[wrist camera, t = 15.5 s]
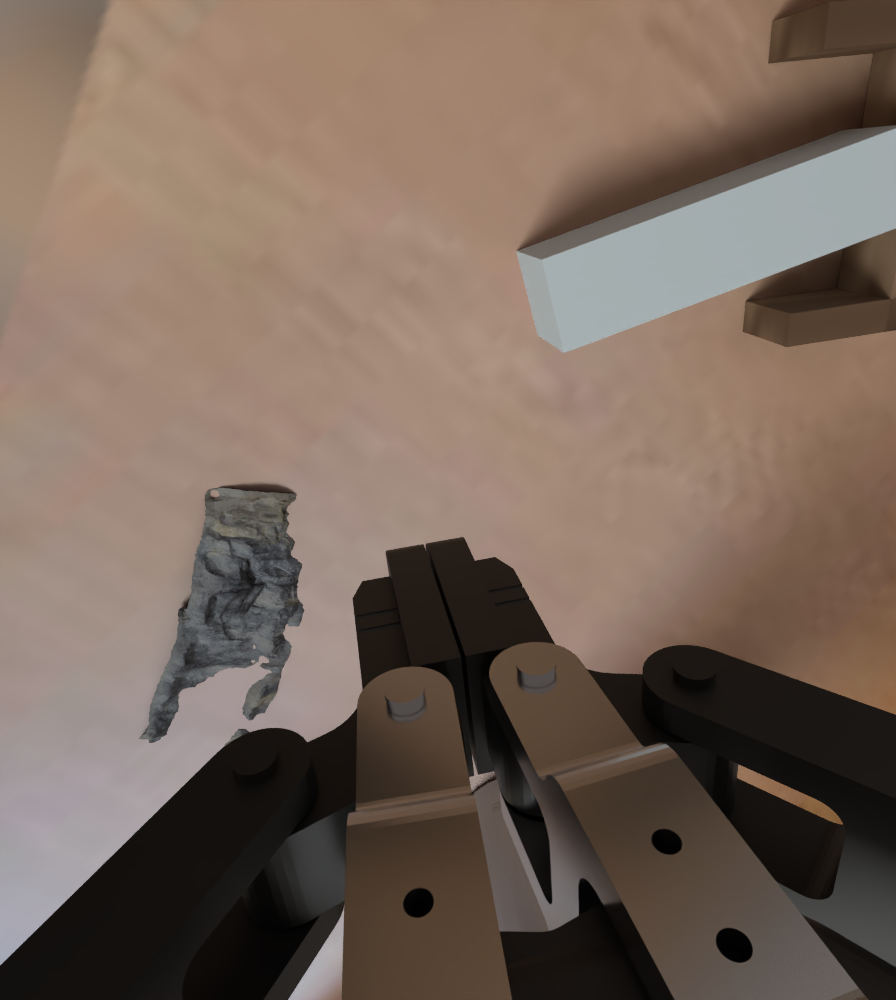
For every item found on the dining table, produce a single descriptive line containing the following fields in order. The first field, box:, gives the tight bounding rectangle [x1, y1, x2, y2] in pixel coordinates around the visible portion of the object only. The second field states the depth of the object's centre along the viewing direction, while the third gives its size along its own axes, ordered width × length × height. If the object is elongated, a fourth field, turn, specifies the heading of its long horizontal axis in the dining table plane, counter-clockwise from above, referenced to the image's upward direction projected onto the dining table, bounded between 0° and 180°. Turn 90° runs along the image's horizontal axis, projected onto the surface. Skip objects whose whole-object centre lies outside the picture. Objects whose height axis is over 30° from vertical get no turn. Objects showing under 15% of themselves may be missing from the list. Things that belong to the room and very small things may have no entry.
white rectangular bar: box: [516, 125, 896, 353], centre depth 30 cm, size 4×16×4 cm, turn 108°
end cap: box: [743, 0, 896, 347], centre depth 30 cm, size 13×6×4 cm, turn 6°
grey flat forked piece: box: [139, 488, 304, 746], centre depth 36 cm, size 21×7×2 cm, turn 157°
